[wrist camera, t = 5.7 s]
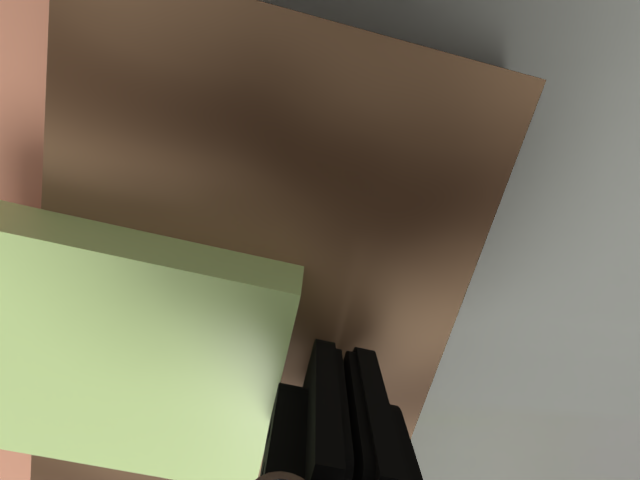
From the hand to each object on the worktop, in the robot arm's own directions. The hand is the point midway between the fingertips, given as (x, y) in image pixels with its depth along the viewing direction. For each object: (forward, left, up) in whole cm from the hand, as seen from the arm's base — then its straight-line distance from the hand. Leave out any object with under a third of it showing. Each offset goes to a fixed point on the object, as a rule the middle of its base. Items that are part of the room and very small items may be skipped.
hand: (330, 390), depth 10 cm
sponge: (0, -6, 0) cm, 6 cm away
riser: (0, -3, -3) cm, 4 cm away
